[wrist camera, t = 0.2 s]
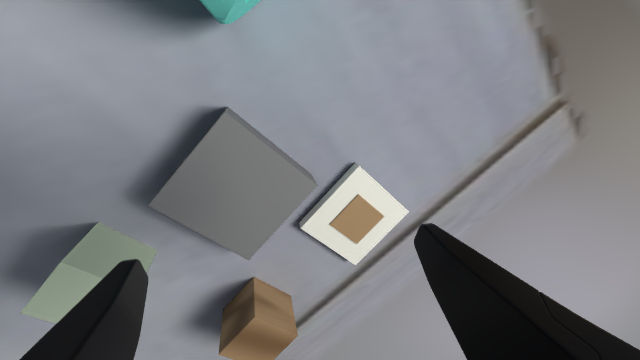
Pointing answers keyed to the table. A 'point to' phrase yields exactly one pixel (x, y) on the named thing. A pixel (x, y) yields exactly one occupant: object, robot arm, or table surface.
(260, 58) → the table surface
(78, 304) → the robot arm
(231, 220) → the charcoal base block
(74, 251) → the sage cube
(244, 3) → the decorative dice
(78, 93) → the table surface
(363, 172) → the tile
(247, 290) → the walnut cube
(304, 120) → the table surface
